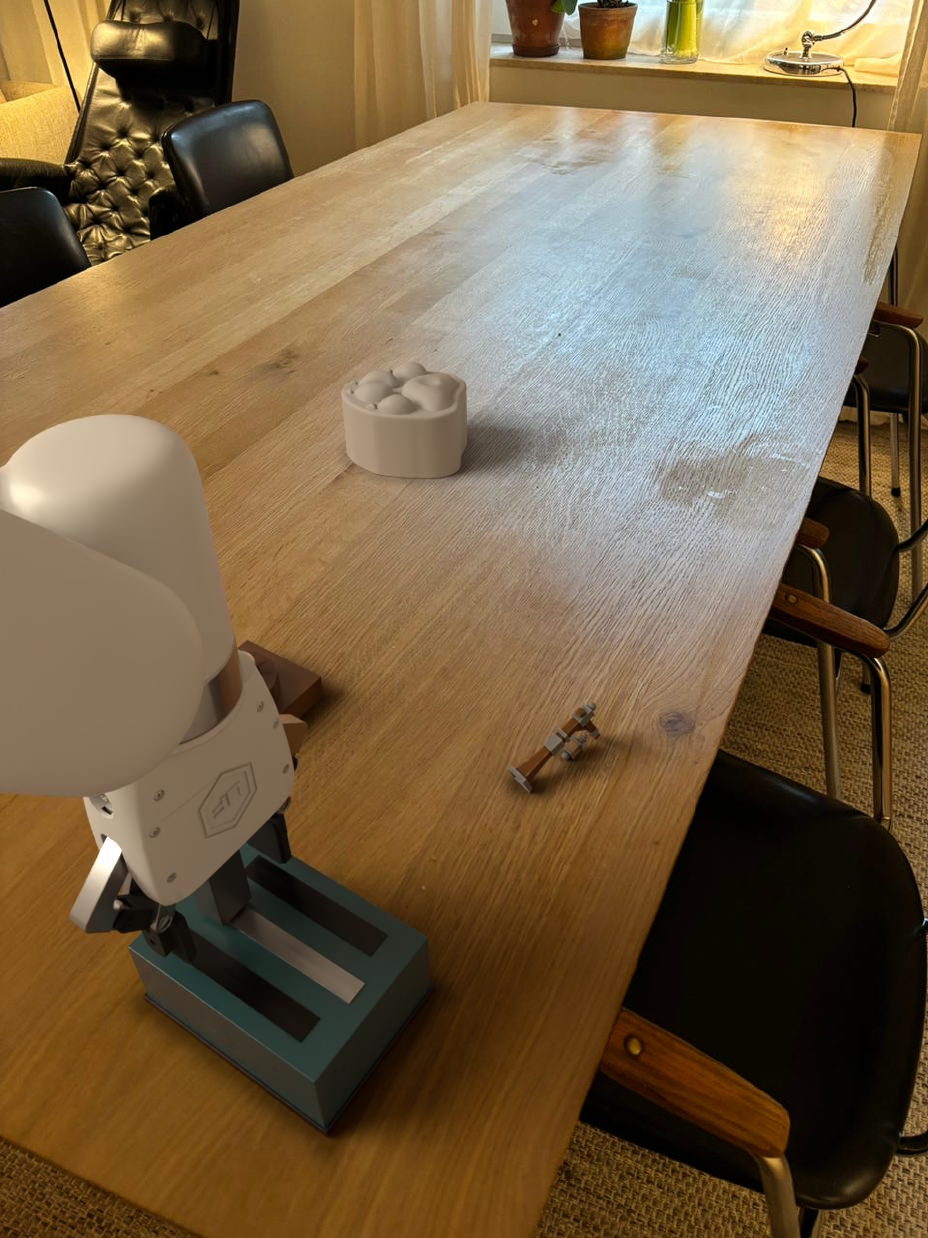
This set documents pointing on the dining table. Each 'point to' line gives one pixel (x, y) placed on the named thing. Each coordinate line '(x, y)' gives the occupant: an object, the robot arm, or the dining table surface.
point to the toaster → (294, 986)
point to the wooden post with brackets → (558, 745)
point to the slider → (224, 891)
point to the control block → (286, 681)
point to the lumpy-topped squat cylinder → (406, 422)
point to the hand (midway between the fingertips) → (223, 896)
